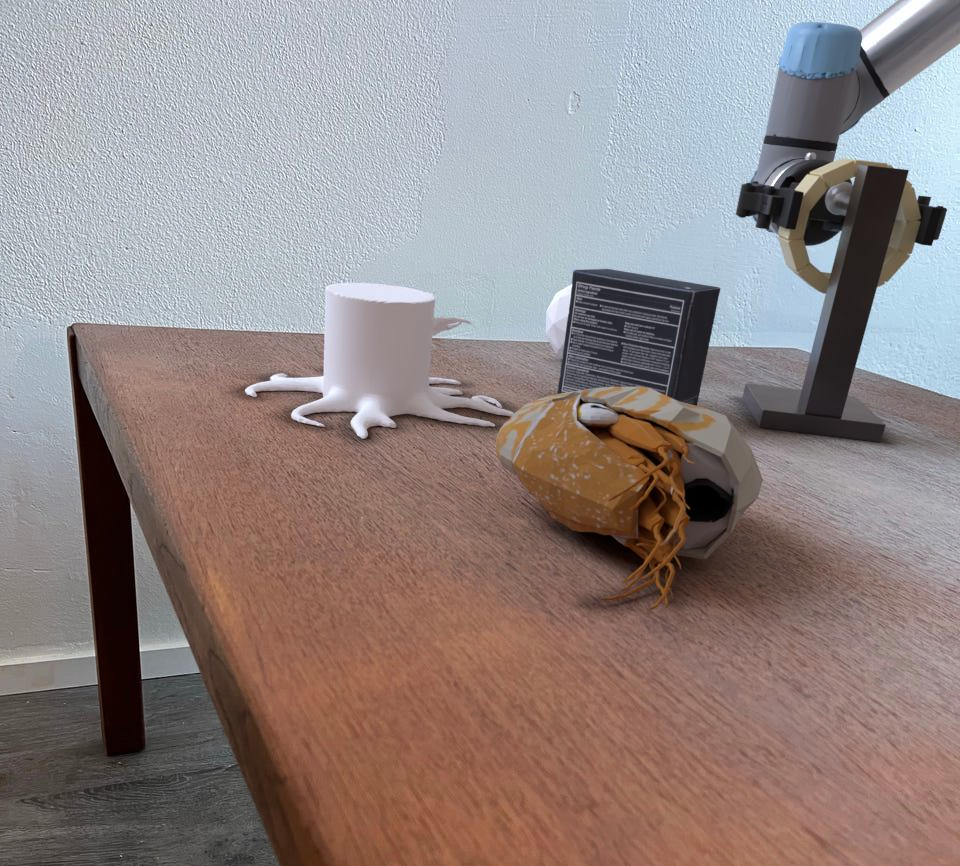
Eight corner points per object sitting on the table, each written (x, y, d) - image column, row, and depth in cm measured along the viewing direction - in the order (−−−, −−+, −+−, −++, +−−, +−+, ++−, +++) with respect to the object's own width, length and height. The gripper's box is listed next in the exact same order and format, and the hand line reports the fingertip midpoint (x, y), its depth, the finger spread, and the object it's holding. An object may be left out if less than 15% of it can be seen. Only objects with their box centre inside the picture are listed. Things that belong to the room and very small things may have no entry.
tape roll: (882, 294, 85) (917, 167, 81) (898, 302, 81) (936, 169, 77) (767, 280, 86) (795, 153, 81) (776, 287, 82) (807, 154, 77)
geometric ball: (592, 388, 100) (649, 328, 98) (570, 371, 93) (631, 306, 90) (543, 337, 102) (598, 277, 100) (518, 317, 94) (577, 251, 92)
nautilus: (773, 665, 45) (447, 629, 46) (739, 490, 63) (506, 468, 65) (809, 502, 41) (451, 469, 42) (762, 366, 59) (513, 346, 61)
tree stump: (544, 431, 74) (559, 320, 70) (292, 441, 65) (293, 315, 62) (436, 367, 89) (443, 273, 85) (221, 369, 81) (218, 264, 77)
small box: (699, 416, 83) (725, 285, 78) (669, 429, 78) (696, 291, 73) (587, 389, 87) (606, 264, 83) (552, 400, 82) (570, 268, 78)
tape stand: (841, 402, 93) (904, 169, 84) (880, 442, 81) (959, 175, 72) (736, 389, 94) (787, 156, 84) (759, 427, 81) (821, 160, 72)
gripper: (699, 145, 95) (729, 148, 76) (934, 172, 95) (1026, 183, 75) (683, 228, 99) (709, 252, 79) (910, 255, 98) (992, 286, 78)
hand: (863, 218), depth 77 cm, fingers closed on tape roll, 10 cm apart
